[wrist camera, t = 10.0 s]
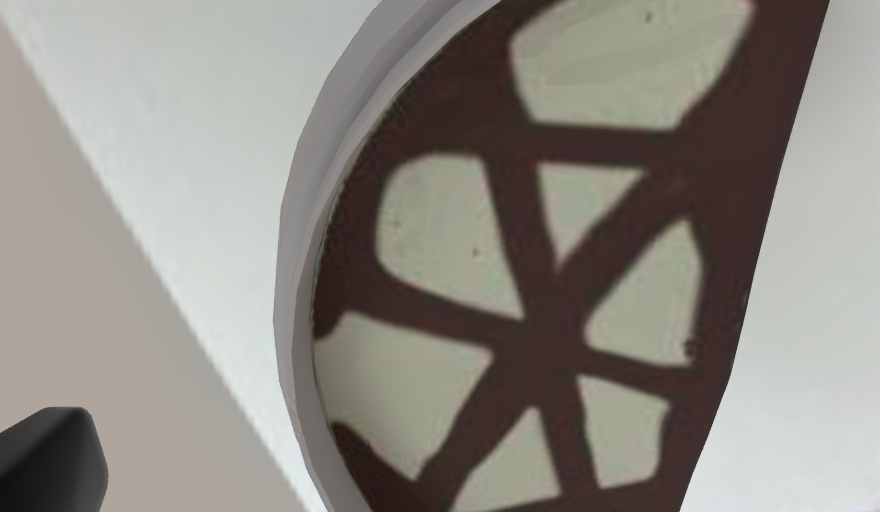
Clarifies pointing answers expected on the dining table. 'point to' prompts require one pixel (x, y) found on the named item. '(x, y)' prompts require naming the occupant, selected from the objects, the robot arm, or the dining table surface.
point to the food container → (530, 247)
